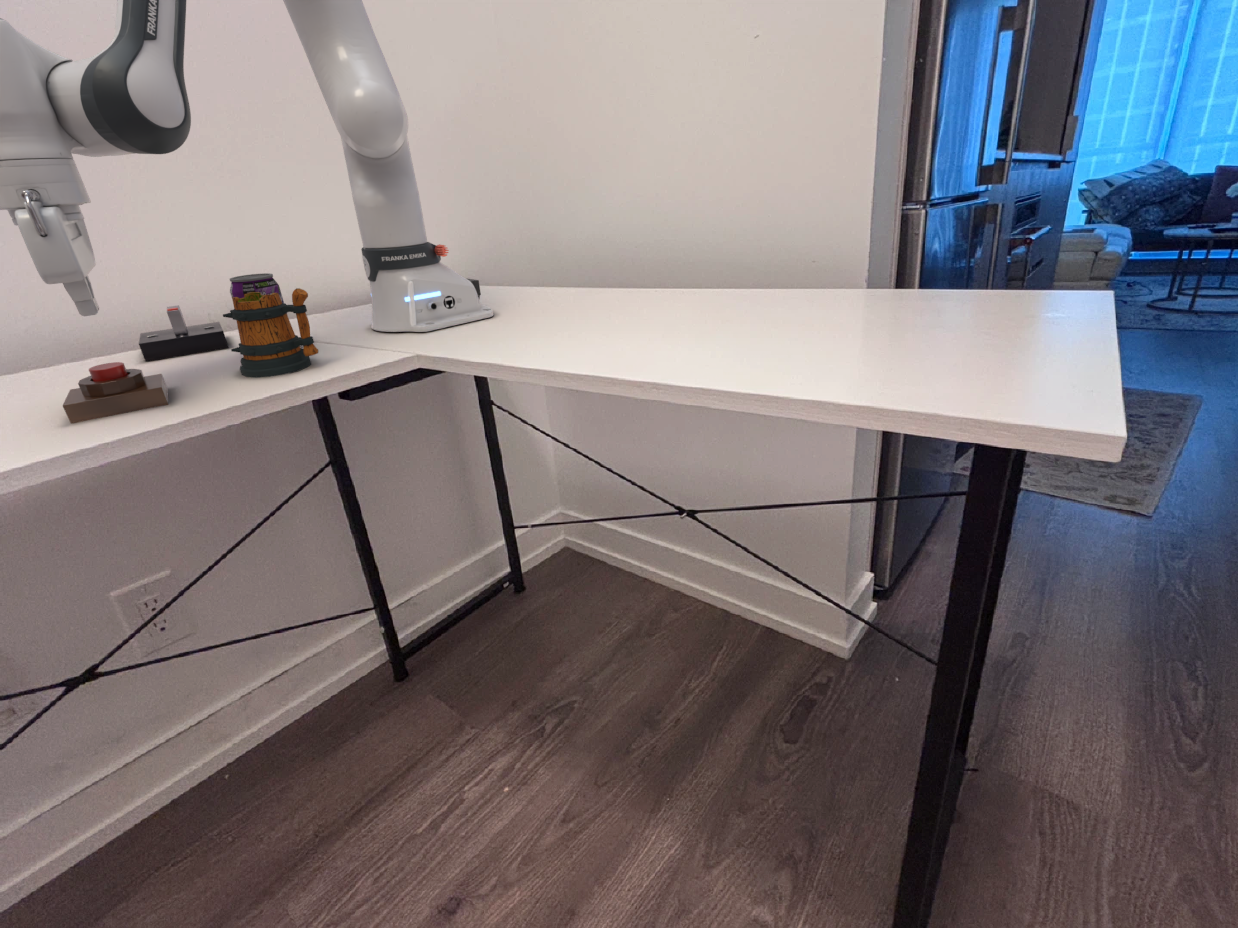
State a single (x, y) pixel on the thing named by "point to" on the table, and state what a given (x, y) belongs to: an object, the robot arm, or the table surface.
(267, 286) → the beverage can
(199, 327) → the black flat block
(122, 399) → the block
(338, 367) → the table surface
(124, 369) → the button
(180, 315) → the tilted grey flap
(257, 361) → the mug
